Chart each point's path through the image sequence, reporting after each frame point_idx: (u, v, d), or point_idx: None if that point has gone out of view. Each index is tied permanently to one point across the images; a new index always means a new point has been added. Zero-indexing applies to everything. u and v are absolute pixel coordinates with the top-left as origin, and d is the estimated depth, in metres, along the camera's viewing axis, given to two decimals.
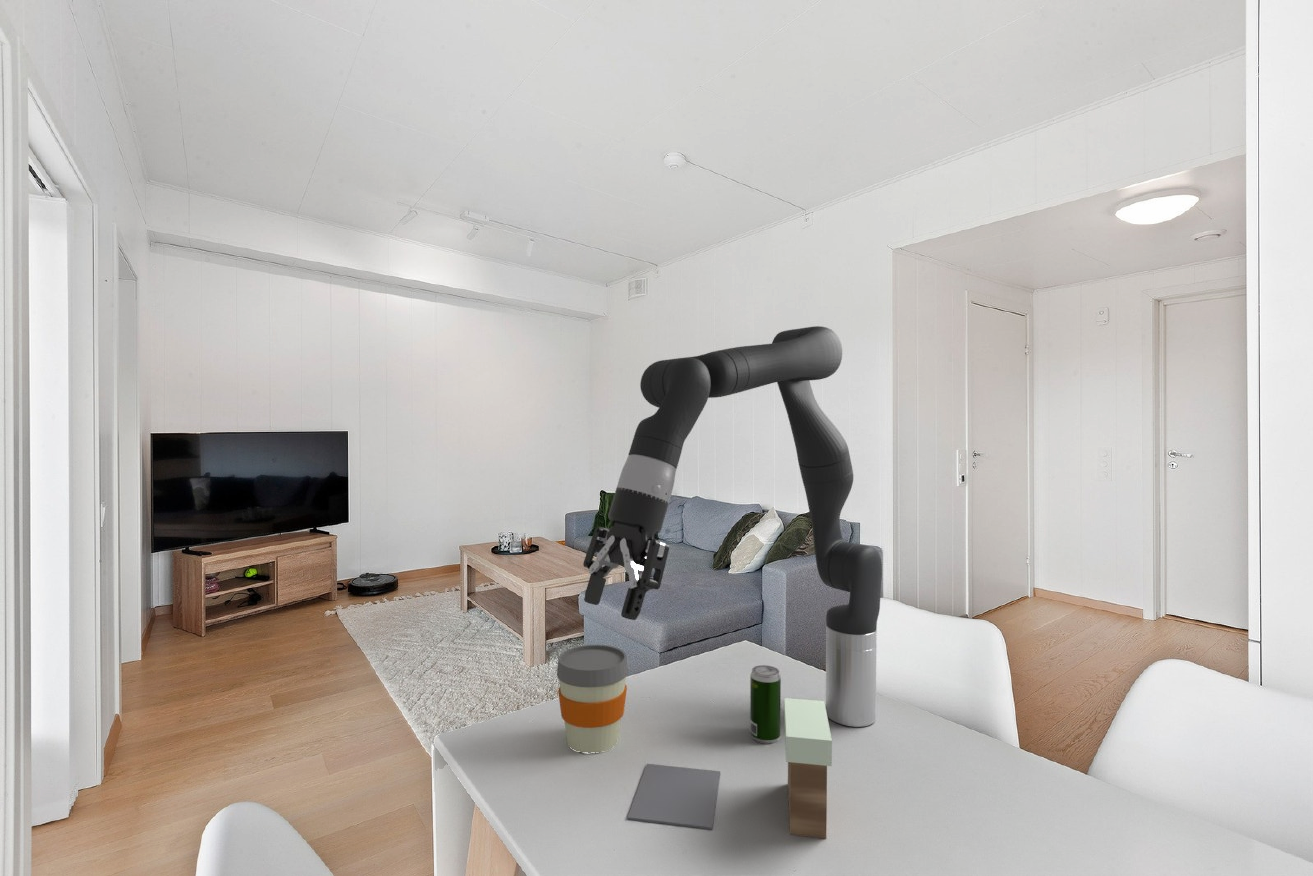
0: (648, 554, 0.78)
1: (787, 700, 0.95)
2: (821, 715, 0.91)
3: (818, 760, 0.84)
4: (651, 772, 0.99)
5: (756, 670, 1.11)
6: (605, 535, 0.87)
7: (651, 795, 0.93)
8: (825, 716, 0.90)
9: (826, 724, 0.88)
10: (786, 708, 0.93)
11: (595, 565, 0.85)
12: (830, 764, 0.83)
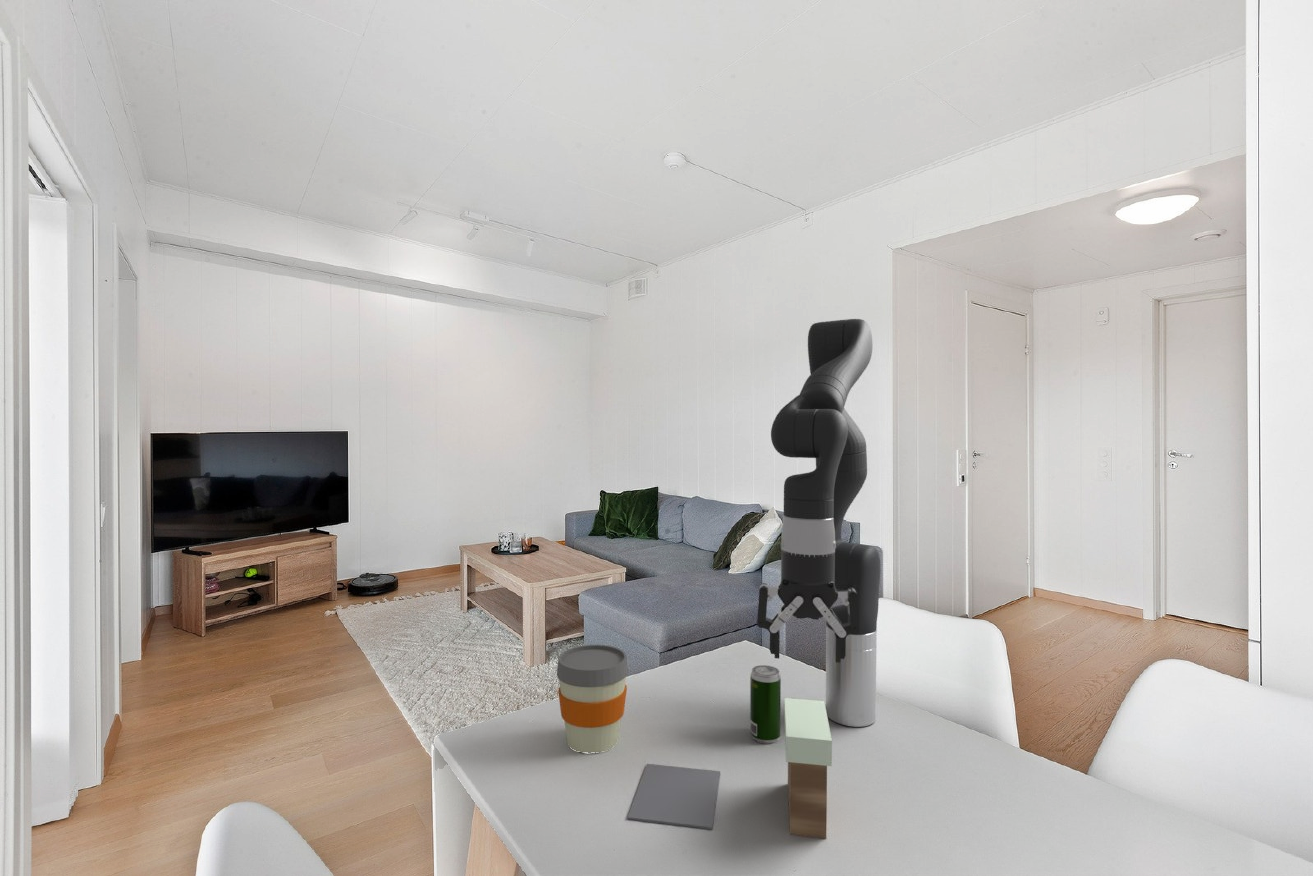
0: (851, 606, 0.87)
1: (787, 700, 0.95)
2: (821, 715, 0.91)
3: (818, 760, 0.84)
4: (651, 772, 0.99)
5: (756, 670, 1.11)
6: (772, 593, 0.90)
7: (651, 795, 0.93)
8: (825, 716, 0.90)
9: (826, 724, 0.88)
10: (786, 708, 0.93)
11: (777, 624, 0.89)
12: (830, 764, 0.83)
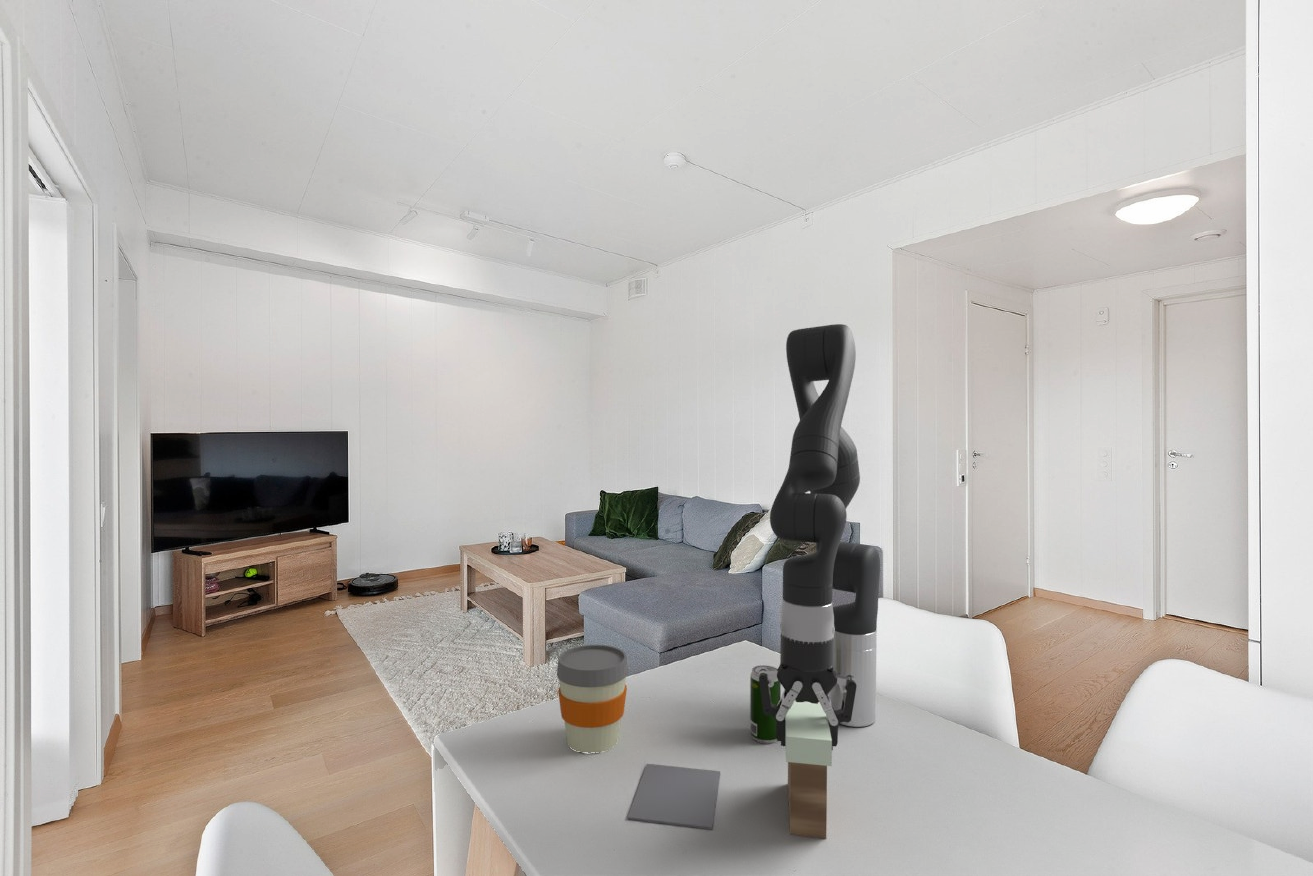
0: (848, 695, 0.88)
1: None
2: (821, 715, 0.91)
3: (818, 760, 0.84)
4: (651, 772, 0.99)
5: (756, 670, 1.11)
6: (772, 678, 0.90)
7: (651, 795, 0.93)
8: (825, 716, 0.90)
9: (826, 724, 0.88)
10: None
11: (782, 712, 0.89)
12: (830, 764, 0.83)
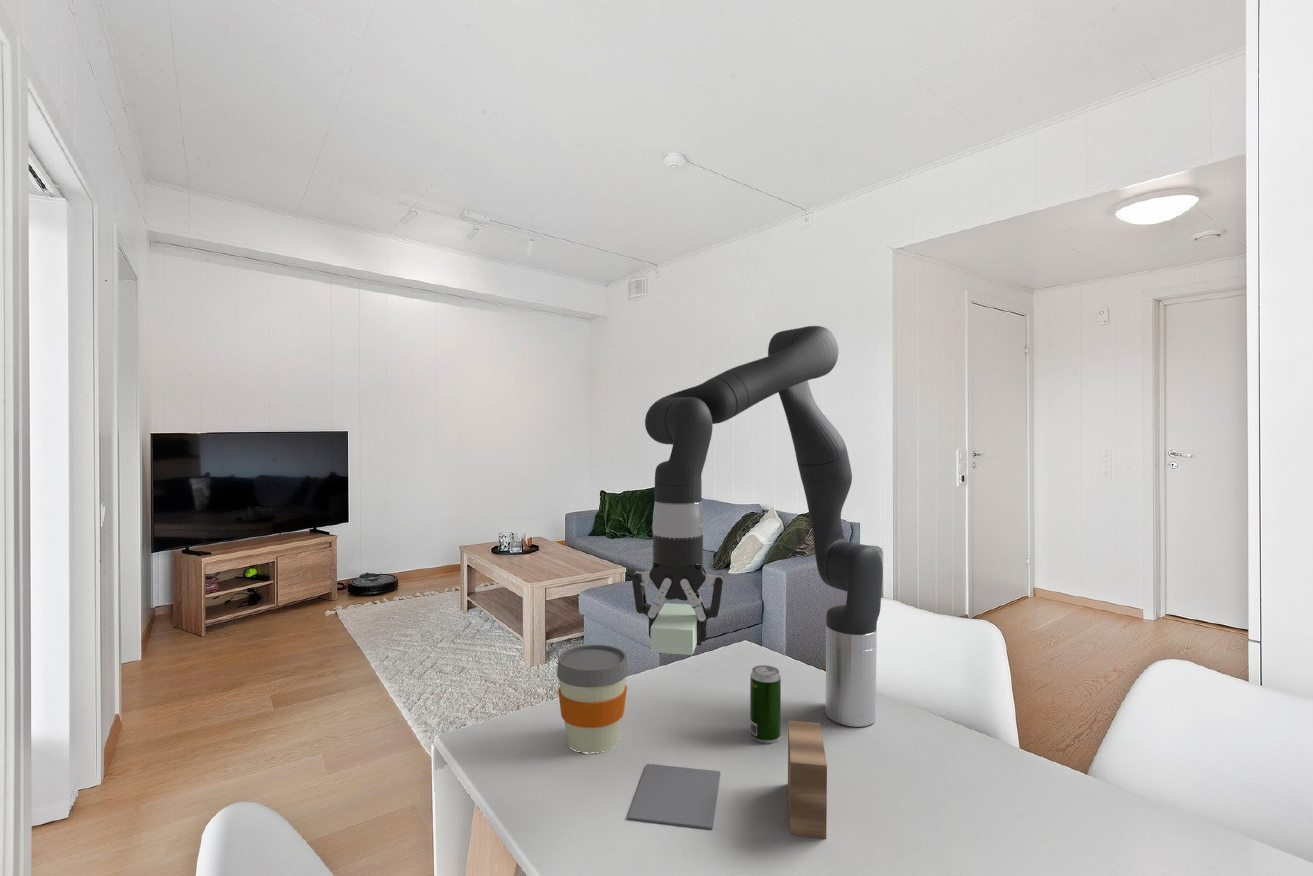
0: (715, 591, 0.91)
1: (666, 604, 0.98)
2: (693, 614, 0.94)
3: (680, 649, 0.87)
4: (651, 772, 0.99)
5: (756, 670, 1.11)
6: (645, 578, 0.93)
7: (651, 795, 0.93)
8: None
9: (694, 620, 0.91)
10: (662, 609, 0.96)
11: (654, 609, 0.92)
12: (691, 653, 0.86)
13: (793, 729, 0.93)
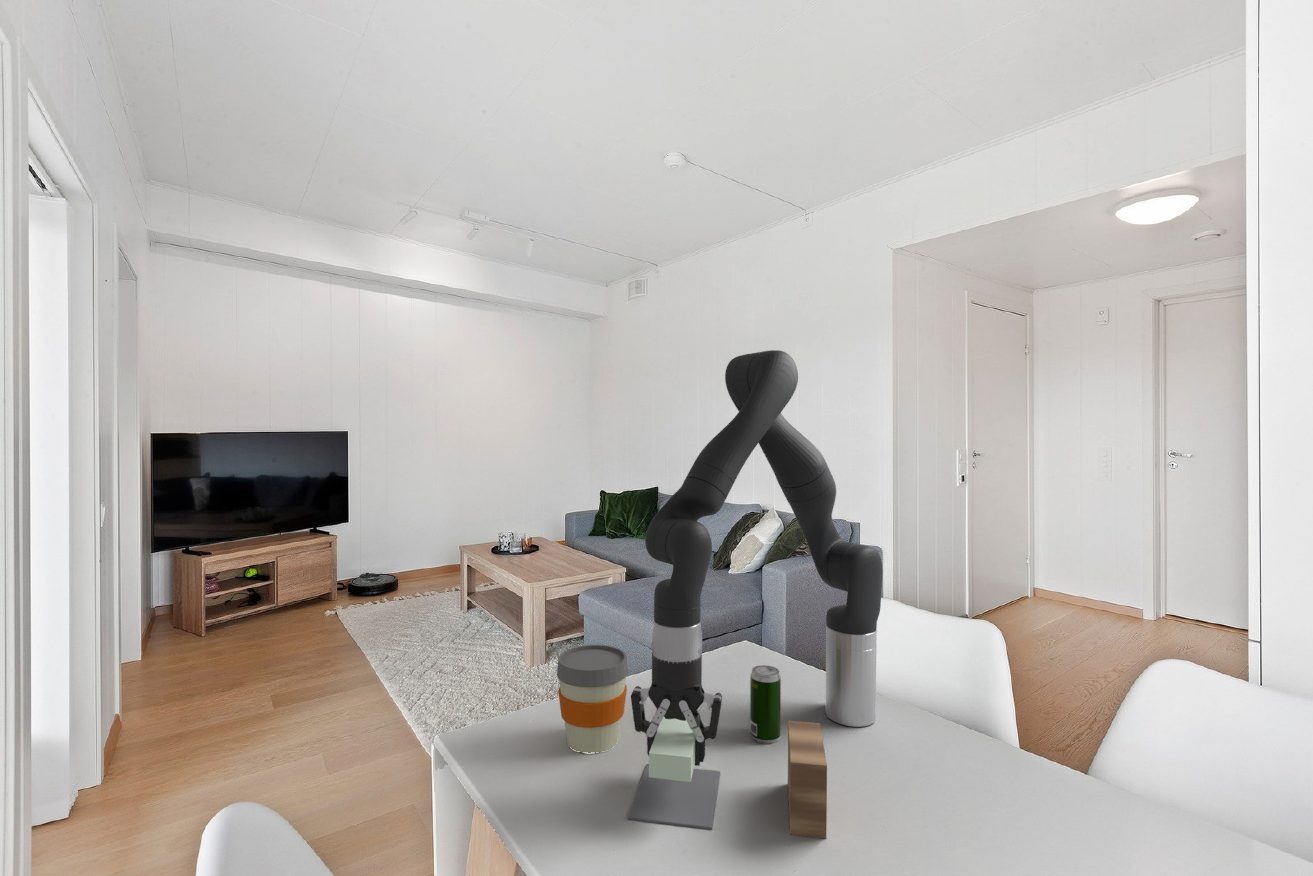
0: (713, 712, 0.91)
1: None
2: (692, 732, 0.94)
3: (678, 776, 0.87)
4: None
5: (756, 670, 1.11)
6: (644, 696, 0.94)
7: (651, 795, 0.93)
8: None
9: (693, 741, 0.91)
10: (660, 724, 0.96)
11: (652, 728, 0.93)
12: (689, 780, 0.87)
13: (793, 729, 0.93)
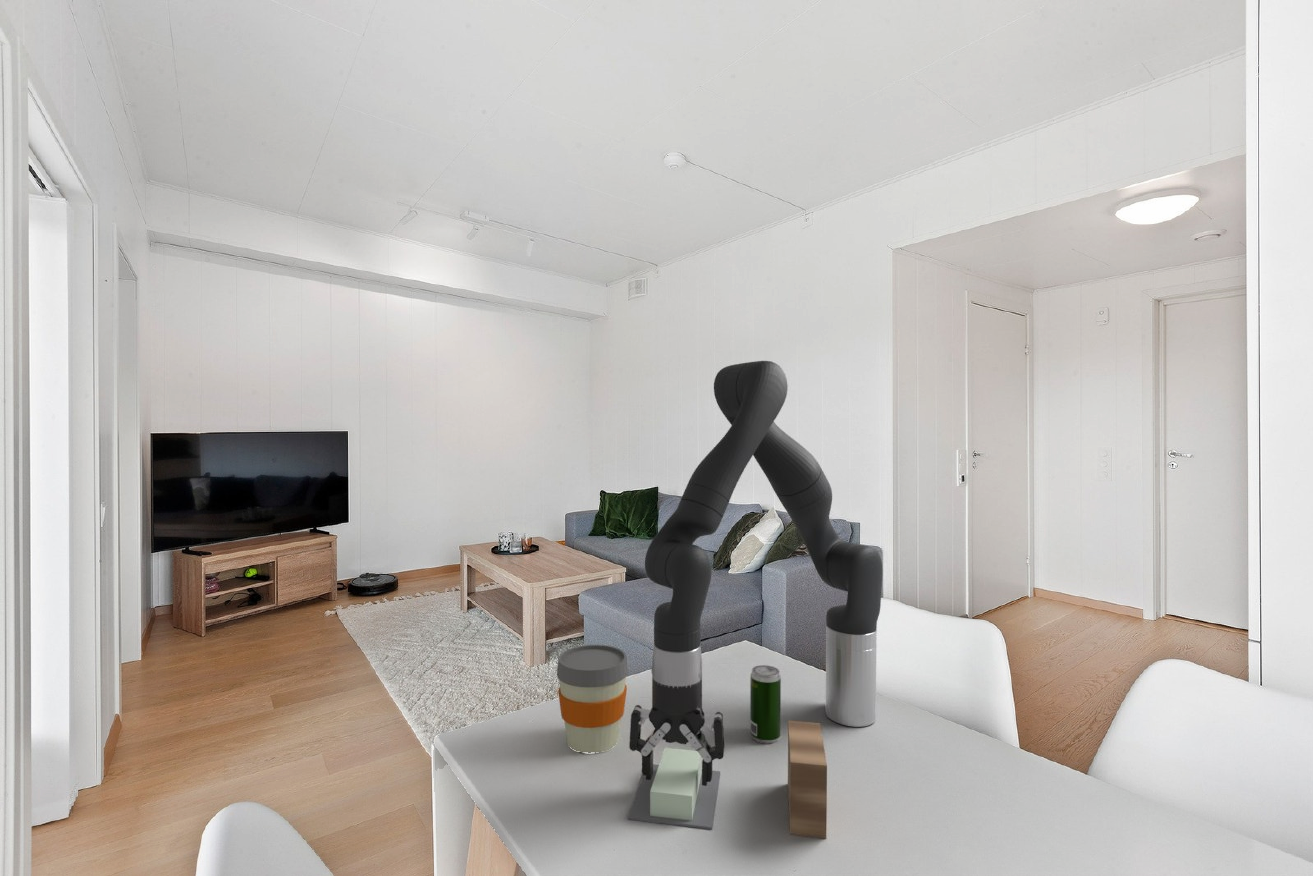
0: (716, 732, 0.91)
1: (666, 750, 0.99)
2: (693, 767, 0.94)
3: (679, 814, 0.87)
4: None
5: (756, 670, 1.11)
6: (644, 716, 0.94)
7: None
8: (696, 768, 0.94)
9: (694, 778, 0.91)
10: (662, 759, 0.96)
11: (648, 748, 0.93)
12: (690, 818, 0.87)
13: (793, 729, 0.93)
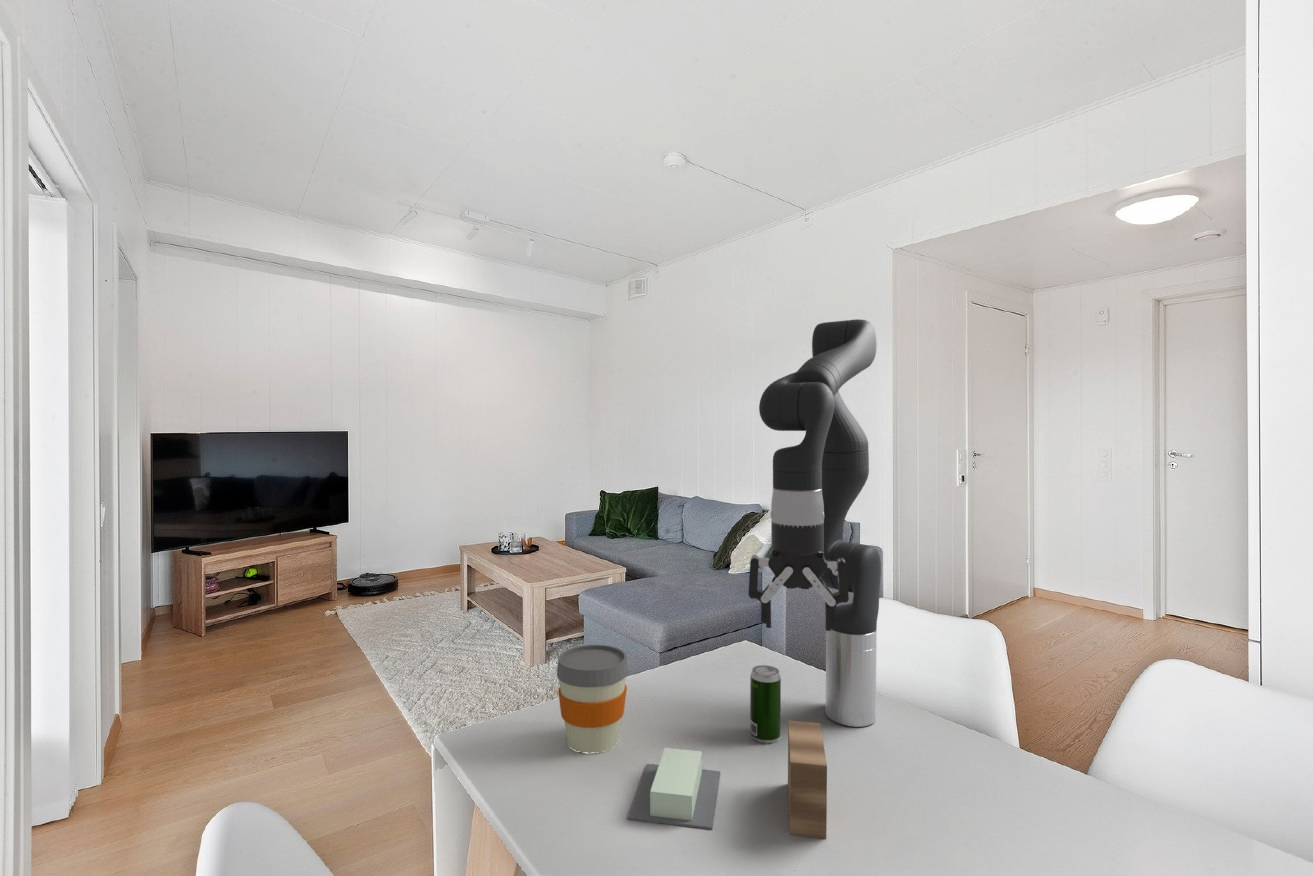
0: (840, 575, 0.89)
1: (666, 750, 0.99)
2: (693, 767, 0.94)
3: (679, 814, 0.87)
4: (651, 772, 0.99)
5: (756, 670, 1.11)
6: (763, 564, 0.92)
7: None
8: (696, 768, 0.94)
9: (694, 778, 0.91)
10: (662, 759, 0.96)
11: (768, 594, 0.91)
12: (690, 818, 0.87)
13: (793, 729, 0.93)
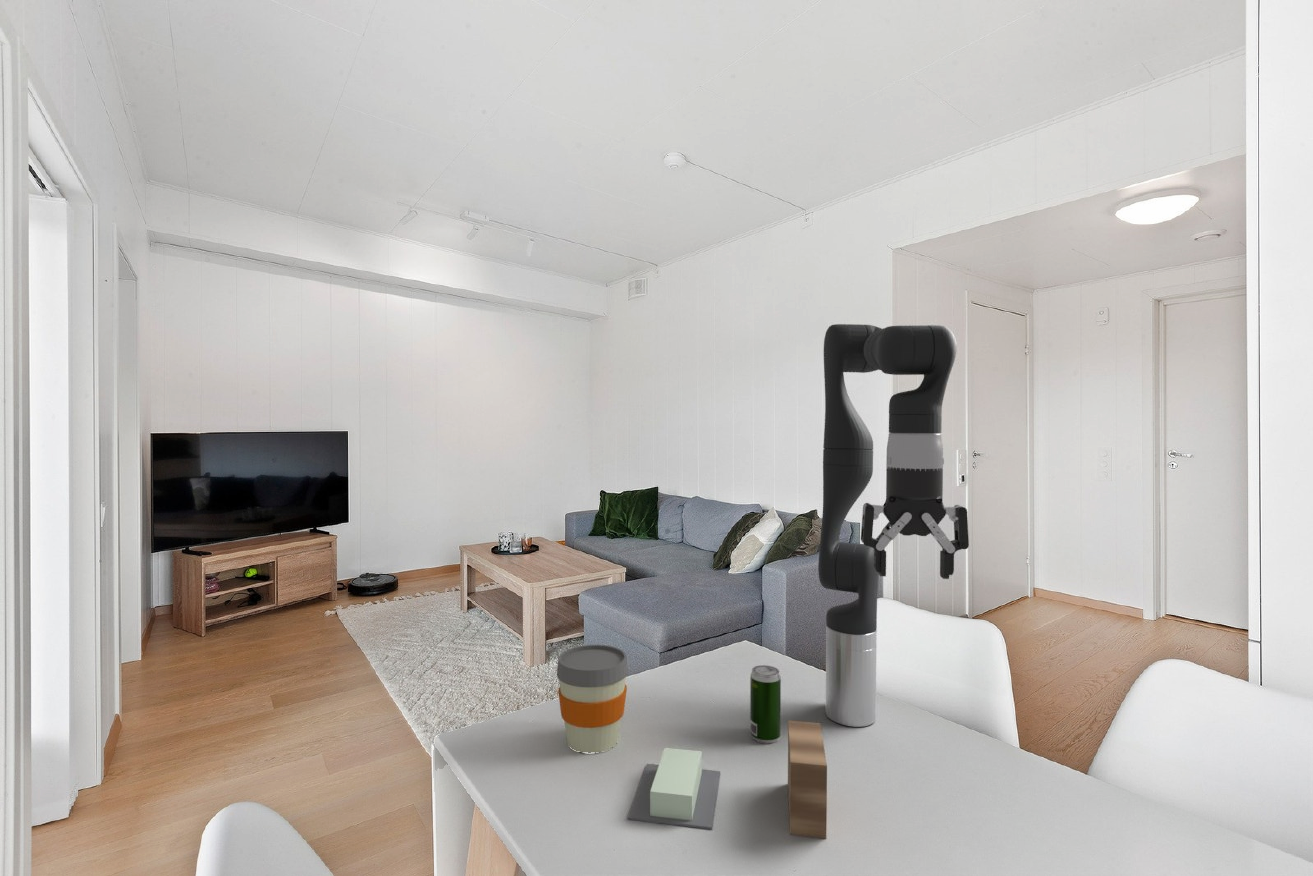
0: (961, 521, 0.87)
1: (666, 750, 0.99)
2: (693, 767, 0.94)
3: (679, 814, 0.87)
4: (651, 772, 0.99)
5: (756, 670, 1.11)
6: (878, 511, 0.90)
7: None
8: (696, 768, 0.94)
9: (694, 778, 0.91)
10: (662, 759, 0.96)
11: (884, 541, 0.89)
12: (690, 818, 0.87)
13: (793, 729, 0.93)
